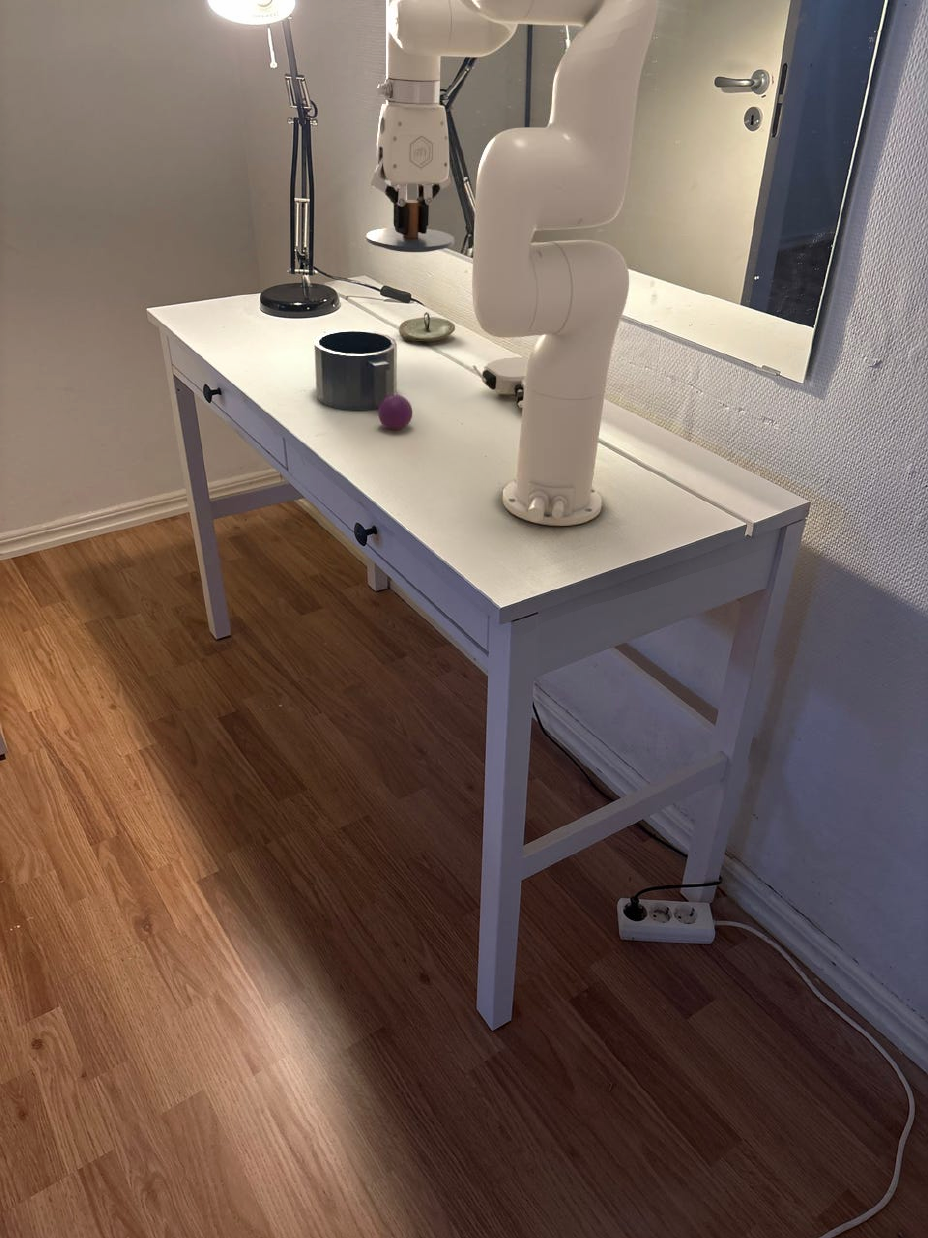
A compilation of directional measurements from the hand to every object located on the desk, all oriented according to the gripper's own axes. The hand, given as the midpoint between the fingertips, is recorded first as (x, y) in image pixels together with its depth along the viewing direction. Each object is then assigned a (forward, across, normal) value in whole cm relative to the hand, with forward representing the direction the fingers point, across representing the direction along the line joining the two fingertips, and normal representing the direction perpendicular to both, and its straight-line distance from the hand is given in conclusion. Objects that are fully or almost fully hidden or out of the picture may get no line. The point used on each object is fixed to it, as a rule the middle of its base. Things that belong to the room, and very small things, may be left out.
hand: (410, 231), depth 140 cm
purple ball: (+20, -12, -18) cm, 30 cm away
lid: (+23, +13, +18) cm, 32 cm away
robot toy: (+23, +13, -16) cm, 31 cm away
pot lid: (+1, 0, 0) cm, 1 cm away
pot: (+23, -11, -4) cm, 26 cm away
